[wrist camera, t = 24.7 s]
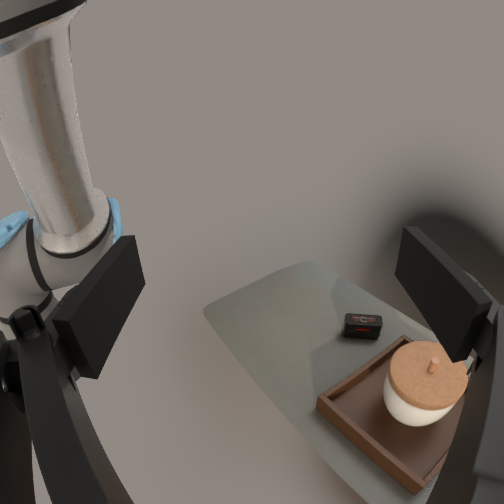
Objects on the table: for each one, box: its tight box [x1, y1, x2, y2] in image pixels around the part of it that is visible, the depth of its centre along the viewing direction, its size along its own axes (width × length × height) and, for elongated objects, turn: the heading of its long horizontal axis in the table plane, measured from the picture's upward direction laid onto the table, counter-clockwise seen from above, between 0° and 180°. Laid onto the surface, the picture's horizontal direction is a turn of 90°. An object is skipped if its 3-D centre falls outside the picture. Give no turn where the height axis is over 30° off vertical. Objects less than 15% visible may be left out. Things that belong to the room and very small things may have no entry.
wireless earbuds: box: [343, 313, 383, 339], centre depth 48 cm, size 5×7×3 cm, turn 75°
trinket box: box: [383, 341, 468, 427], centre depth 30 cm, size 11×11×9 cm
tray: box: [316, 334, 470, 495], centre depth 32 cm, size 19×19×3 cm
